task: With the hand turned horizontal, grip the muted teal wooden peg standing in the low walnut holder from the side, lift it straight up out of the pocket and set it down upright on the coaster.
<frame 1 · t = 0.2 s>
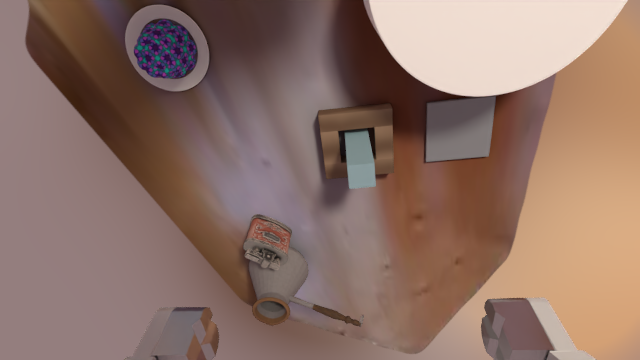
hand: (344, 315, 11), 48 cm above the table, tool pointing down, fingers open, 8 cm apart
peg: (358, 155, 55), in the holder
holder: (356, 139, 60), on the table
coaster: (458, 129, 59), on the table
pudding: (170, 49, 54), on the table
coffee pot: (305, 259, 74), on the table
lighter: (272, 225, 70), on the table
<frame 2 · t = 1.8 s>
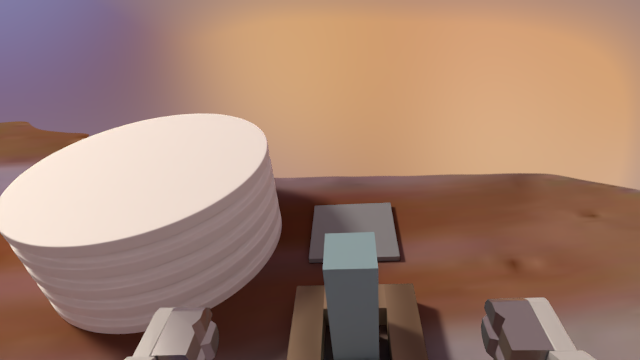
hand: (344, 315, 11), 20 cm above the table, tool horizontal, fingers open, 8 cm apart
peg: (353, 307, 29), in the holder
holder: (356, 353, 32), on the table
coaster: (353, 232, 45), on the table
plate stack: (174, 240, 48), on the table
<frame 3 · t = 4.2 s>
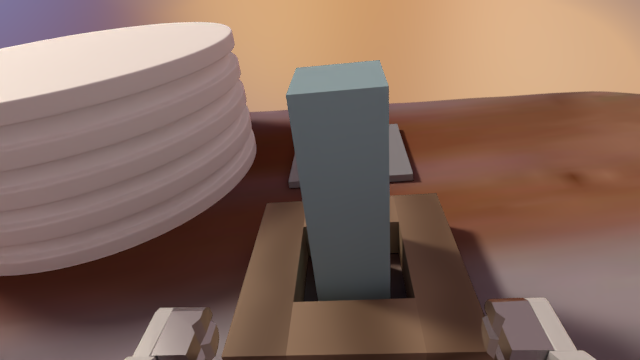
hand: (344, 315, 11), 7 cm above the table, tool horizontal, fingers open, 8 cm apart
peg: (347, 201, 18), in the holder
holder: (354, 289, 21), on the table
coaster: (349, 155, 34), on the table
plate stack: (117, 174, 37), on the table
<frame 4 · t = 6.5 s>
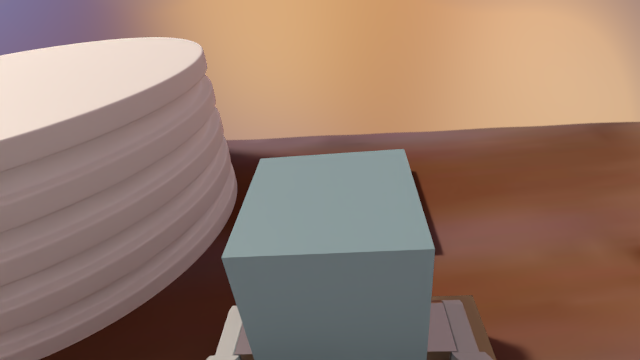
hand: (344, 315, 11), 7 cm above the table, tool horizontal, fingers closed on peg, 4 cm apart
plate stack: (66, 224, 30), on the table
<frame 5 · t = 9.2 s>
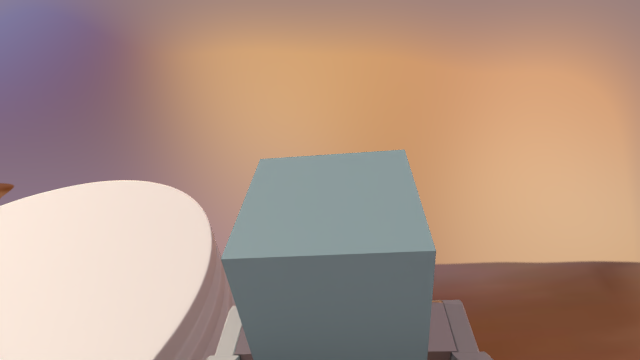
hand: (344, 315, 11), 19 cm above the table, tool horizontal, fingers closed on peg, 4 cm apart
when the fingers open (9 cm above the table, at t = 12.0 s): peg drops 1 cm, resting on coaster.
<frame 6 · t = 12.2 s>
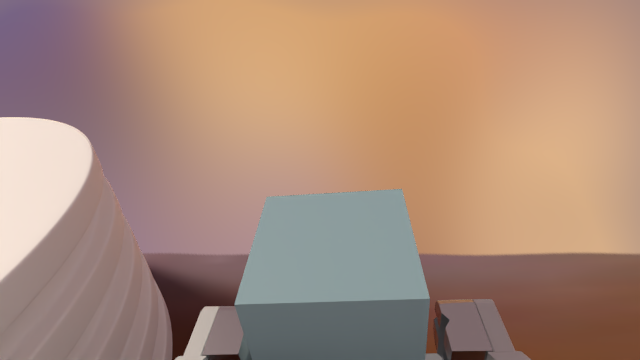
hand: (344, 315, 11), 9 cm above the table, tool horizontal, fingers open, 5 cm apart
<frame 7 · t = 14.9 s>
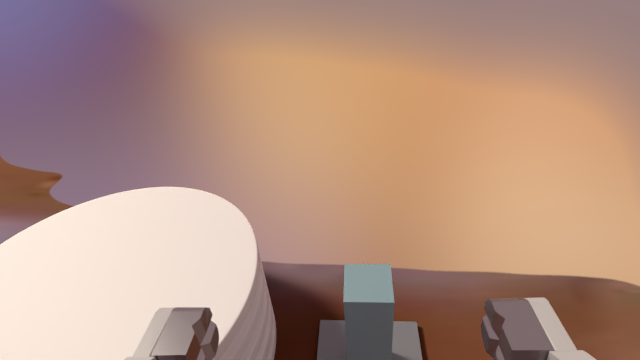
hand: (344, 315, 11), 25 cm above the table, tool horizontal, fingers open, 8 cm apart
peg: (368, 329, 31), on the coaster, point 7 cm above the table
plate stack: (143, 355, 39), on the table
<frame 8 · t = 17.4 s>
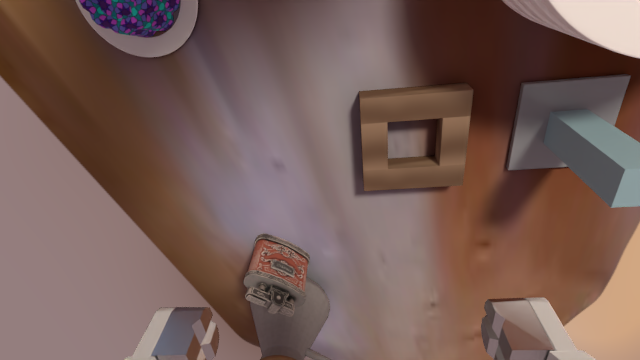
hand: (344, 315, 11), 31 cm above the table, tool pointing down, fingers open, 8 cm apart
peg: (597, 152, 34), on the coaster, point 7 cm above the table
holder: (410, 135, 42), on the table
coaster: (561, 124, 40), on the table
coffee pot: (325, 292, 56), on the table
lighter: (283, 248, 52), on the table
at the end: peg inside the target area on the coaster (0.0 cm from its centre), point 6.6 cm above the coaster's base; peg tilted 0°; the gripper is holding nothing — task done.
